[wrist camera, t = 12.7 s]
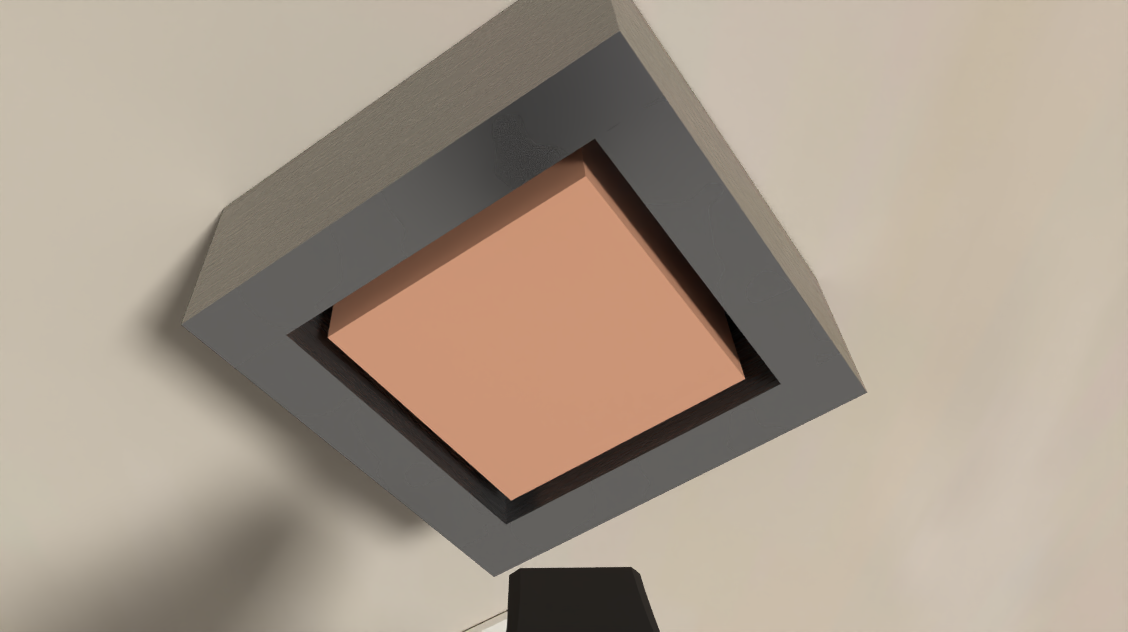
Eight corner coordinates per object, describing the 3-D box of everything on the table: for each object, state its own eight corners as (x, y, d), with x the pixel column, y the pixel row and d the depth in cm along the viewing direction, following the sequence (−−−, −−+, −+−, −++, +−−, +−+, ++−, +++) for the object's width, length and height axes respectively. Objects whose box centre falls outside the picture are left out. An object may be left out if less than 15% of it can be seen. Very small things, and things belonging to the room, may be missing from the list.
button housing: (815, 278, 18) (867, 392, 16) (492, 453, 20) (493, 577, 18) (595, -55, 14) (620, 30, 12) (223, 208, 16) (181, 324, 14)
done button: (720, 298, 17) (744, 379, 15) (508, 416, 18) (511, 500, 17) (573, 105, 14) (585, 176, 13) (342, 256, 16) (327, 337, 14)
